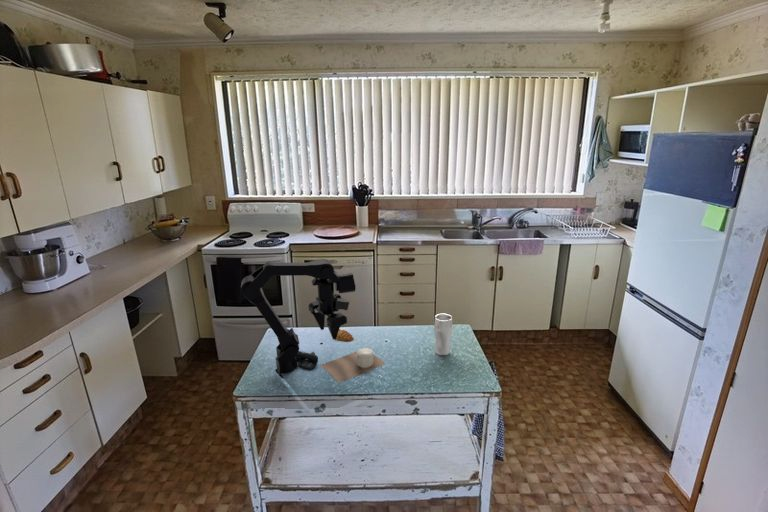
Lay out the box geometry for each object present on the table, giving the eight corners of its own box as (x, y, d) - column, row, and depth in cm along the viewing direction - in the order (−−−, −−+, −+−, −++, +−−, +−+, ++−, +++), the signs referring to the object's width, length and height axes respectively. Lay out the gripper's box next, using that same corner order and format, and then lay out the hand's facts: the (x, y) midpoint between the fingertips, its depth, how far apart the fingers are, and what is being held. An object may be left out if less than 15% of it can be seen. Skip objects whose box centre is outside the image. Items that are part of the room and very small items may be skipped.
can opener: (323, 365, 146) (322, 352, 145) (310, 374, 141) (309, 361, 139) (287, 353, 155) (286, 340, 153) (275, 361, 149) (273, 348, 148)
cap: (373, 367, 142) (372, 356, 141) (356, 367, 142) (356, 356, 141) (373, 358, 148) (373, 348, 147) (357, 358, 148) (357, 348, 147)
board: (339, 386, 134) (339, 382, 133) (320, 367, 144) (320, 364, 144) (386, 366, 145) (386, 363, 145) (365, 350, 156) (365, 348, 155)
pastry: (357, 340, 165) (357, 332, 163) (347, 347, 159) (346, 338, 158) (341, 334, 170) (340, 326, 169) (330, 340, 165) (329, 332, 164)
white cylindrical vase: (454, 354, 153) (456, 319, 148) (438, 357, 150) (440, 322, 146) (445, 345, 159) (446, 312, 155) (430, 349, 156) (431, 315, 152)
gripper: (359, 297, 136) (360, 337, 141) (333, 282, 151) (335, 319, 155) (331, 305, 130) (333, 347, 134) (306, 289, 144) (309, 327, 149)
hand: (328, 334), depth 143 cm, fingers open, 9 cm apart
